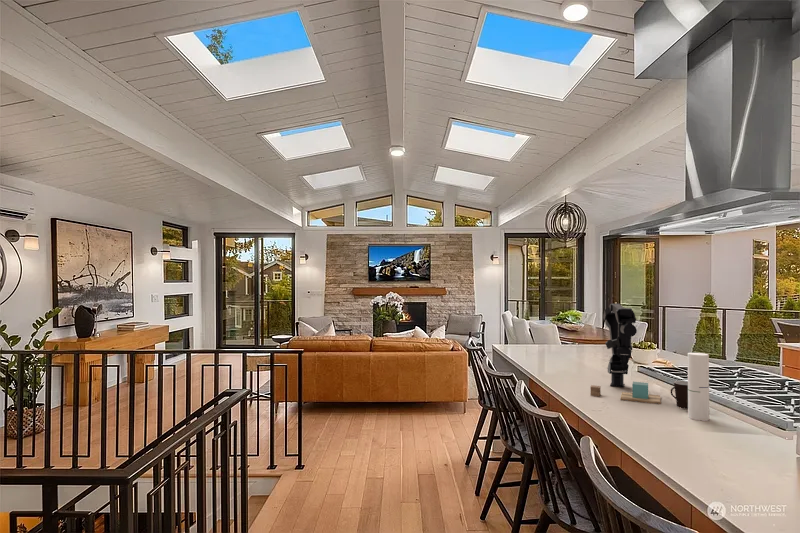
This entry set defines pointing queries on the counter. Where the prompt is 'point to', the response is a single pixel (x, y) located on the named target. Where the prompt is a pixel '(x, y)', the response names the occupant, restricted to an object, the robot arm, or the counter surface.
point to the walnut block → (595, 390)
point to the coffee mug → (681, 393)
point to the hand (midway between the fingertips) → (624, 366)
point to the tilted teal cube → (640, 390)
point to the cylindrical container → (698, 386)
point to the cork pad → (650, 398)
